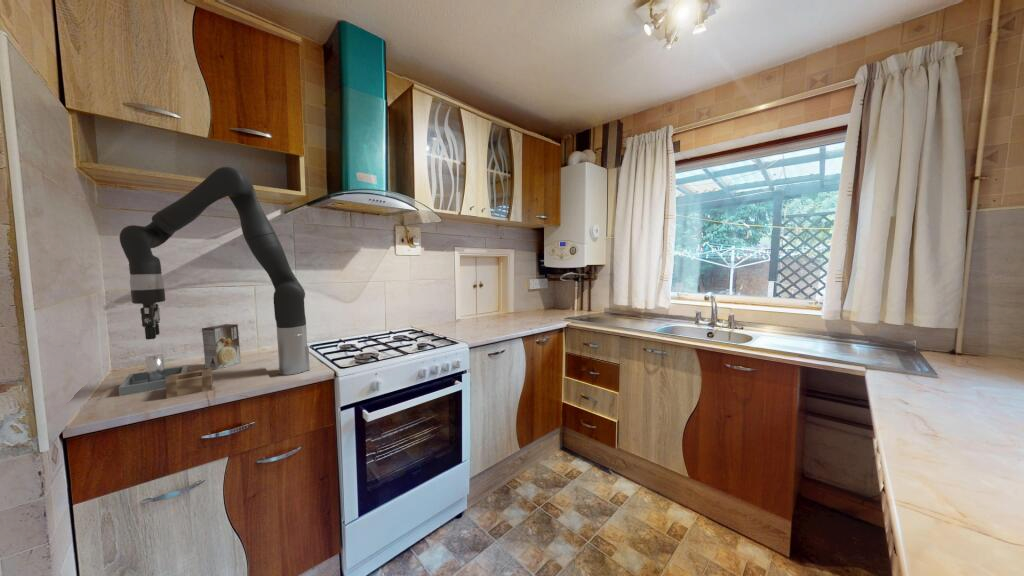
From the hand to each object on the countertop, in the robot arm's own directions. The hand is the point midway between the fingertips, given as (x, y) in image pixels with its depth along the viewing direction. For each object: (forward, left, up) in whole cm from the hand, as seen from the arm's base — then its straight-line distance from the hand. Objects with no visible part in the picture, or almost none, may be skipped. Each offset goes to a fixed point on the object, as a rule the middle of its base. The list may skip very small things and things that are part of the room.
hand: (153, 336), depth 111 cm
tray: (0, 0, -17) cm, 17 cm away
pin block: (-9, +16, -17) cm, 25 cm away
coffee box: (-17, -14, -17) cm, 28 cm away
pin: (0, 0, -16) cm, 16 cm away
